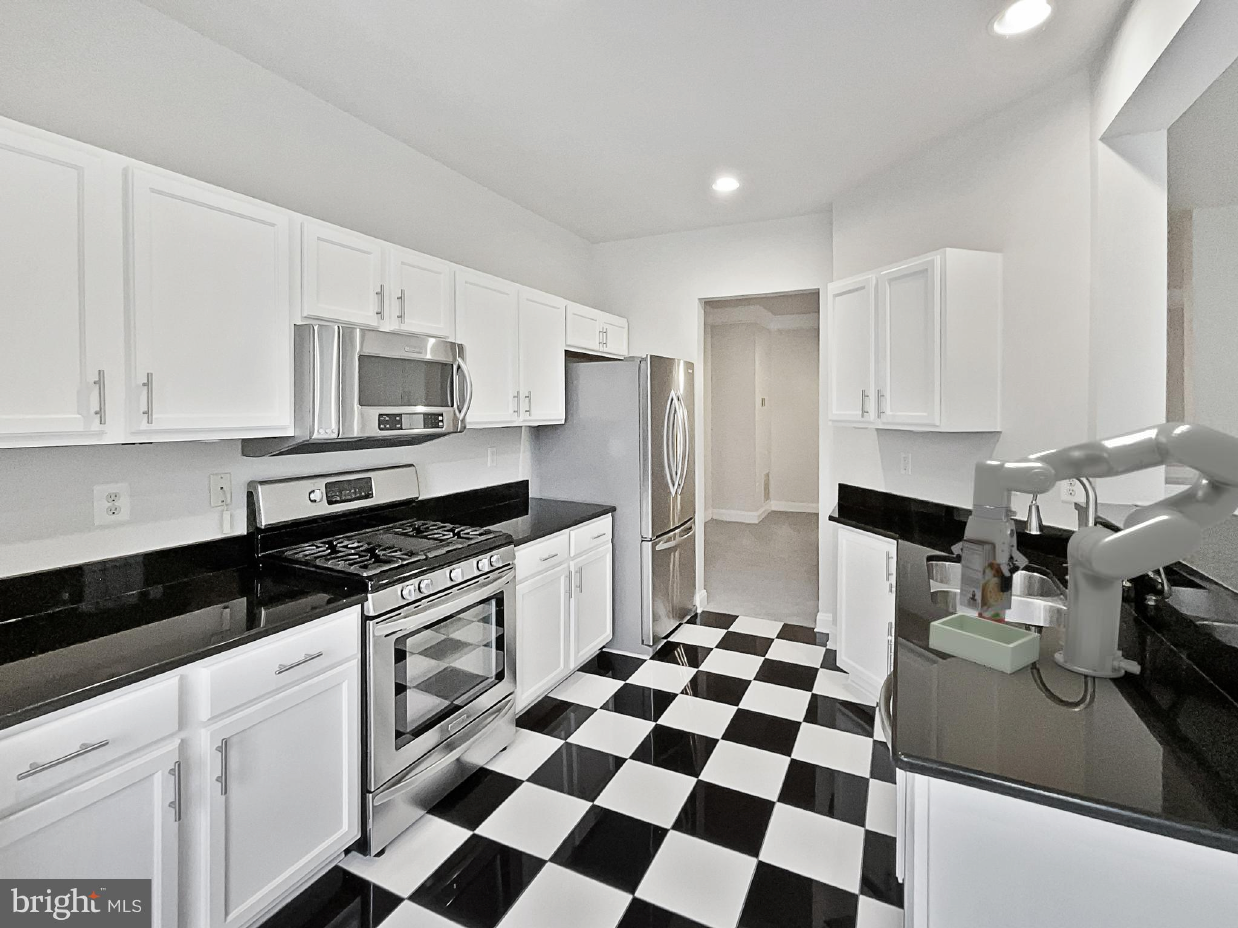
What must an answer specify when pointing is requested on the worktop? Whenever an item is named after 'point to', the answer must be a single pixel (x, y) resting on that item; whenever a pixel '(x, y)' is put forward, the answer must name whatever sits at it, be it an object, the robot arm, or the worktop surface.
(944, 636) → the bin
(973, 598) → the coffee box
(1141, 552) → the robot arm
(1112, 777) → the worktop surface
